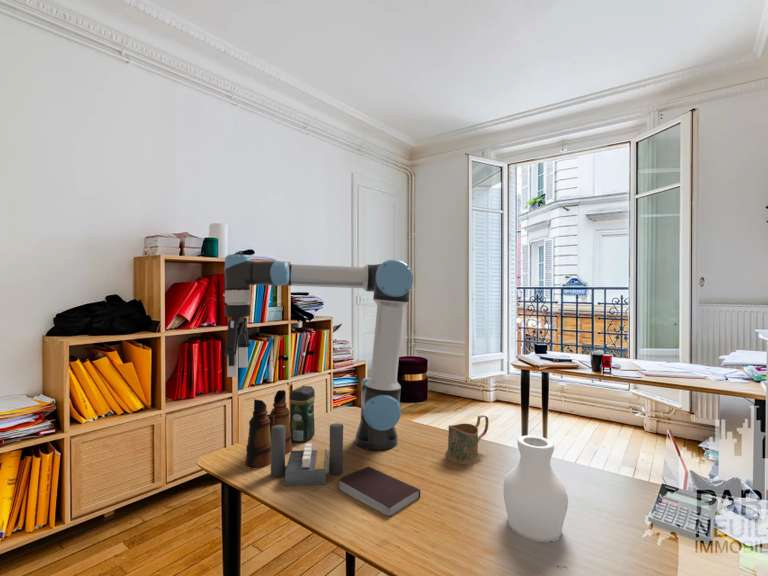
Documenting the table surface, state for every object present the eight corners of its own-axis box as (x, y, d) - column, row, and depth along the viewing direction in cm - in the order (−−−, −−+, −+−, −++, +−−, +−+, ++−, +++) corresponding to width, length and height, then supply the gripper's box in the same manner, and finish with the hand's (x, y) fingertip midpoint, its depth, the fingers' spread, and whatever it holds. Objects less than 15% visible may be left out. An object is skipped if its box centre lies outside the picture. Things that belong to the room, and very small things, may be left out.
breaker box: (326, 462, 124) (326, 449, 124) (325, 484, 110) (325, 469, 110) (290, 463, 123) (291, 450, 123) (285, 486, 109) (285, 470, 109)
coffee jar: (298, 432, 150) (299, 383, 150) (317, 434, 148) (318, 385, 148) (285, 441, 141) (286, 389, 141) (305, 444, 138) (305, 391, 138)
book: (369, 475, 117) (369, 464, 117) (420, 499, 104) (421, 487, 104) (337, 490, 108) (337, 479, 108) (389, 519, 95) (389, 506, 95)
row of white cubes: (311, 451, 122) (311, 443, 122) (309, 467, 111) (309, 458, 111) (305, 451, 122) (305, 443, 122) (302, 467, 111) (302, 459, 111)
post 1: (285, 471, 118) (286, 424, 118) (283, 477, 114) (284, 429, 114) (271, 471, 117) (272, 424, 117) (269, 478, 113) (270, 429, 113)
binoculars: (260, 470, 118) (261, 404, 118) (239, 465, 121) (240, 400, 121) (297, 448, 135) (297, 390, 135) (277, 444, 138) (278, 387, 138)
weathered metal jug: (500, 454, 132) (500, 419, 132) (463, 467, 122) (463, 429, 122) (474, 443, 142) (474, 409, 142) (437, 454, 132) (438, 418, 132)
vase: (582, 539, 88) (583, 450, 88) (527, 550, 84) (528, 457, 84) (539, 505, 101) (540, 428, 101) (490, 513, 97) (492, 432, 97)
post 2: (342, 468, 120) (343, 423, 120) (342, 475, 116) (343, 427, 116) (329, 469, 119) (329, 423, 119) (328, 475, 116) (329, 428, 116)
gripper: (235, 302, 135) (235, 364, 135) (212, 306, 110) (213, 381, 110) (257, 302, 136) (258, 363, 136) (240, 305, 111) (240, 380, 111)
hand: (238, 371), depth 123 cm, fingers open, 13 cm apart
